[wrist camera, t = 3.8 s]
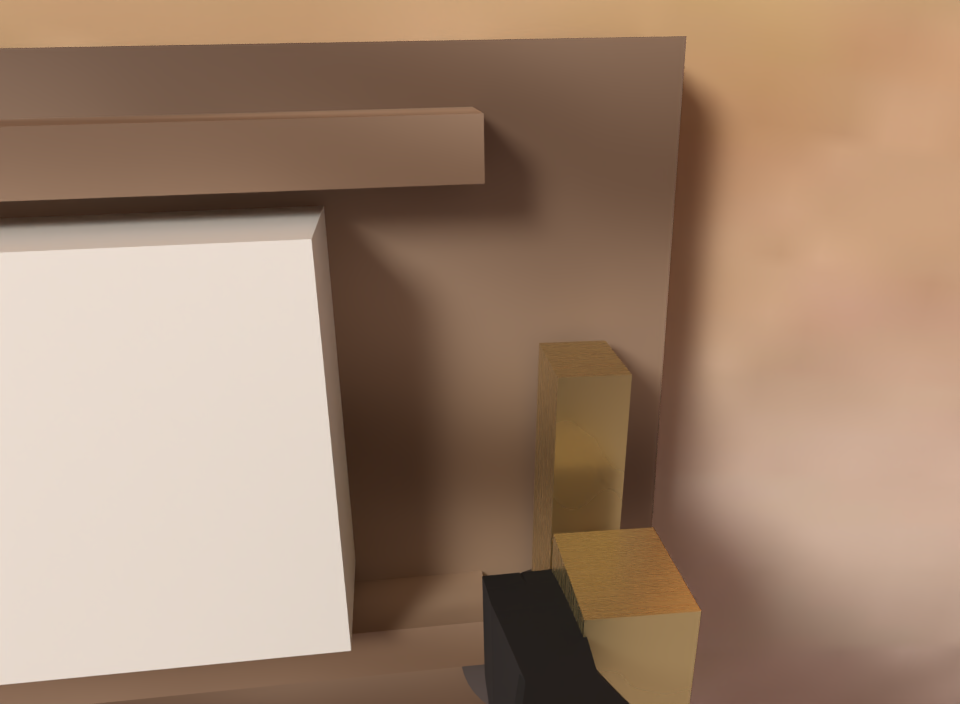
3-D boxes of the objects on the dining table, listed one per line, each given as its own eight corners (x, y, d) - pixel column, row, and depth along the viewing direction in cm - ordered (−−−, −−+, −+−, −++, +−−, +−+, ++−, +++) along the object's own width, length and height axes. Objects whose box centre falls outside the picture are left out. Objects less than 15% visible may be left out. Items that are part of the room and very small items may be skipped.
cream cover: (355, 560, 15) (351, 651, 13) (35, 588, 15) (-29, 687, 13) (323, 205, 13) (310, 239, 11) (-64, 220, 12) (-167, 259, 10)
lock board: (612, 674, 20) (657, 795, 17) (-151, 754, 18) (-268, 908, 15) (647, 38, 15) (724, 34, 11) (-436, 57, 13) (-718, 59, 9)
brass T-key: (585, 813, 18) (650, 1051, 14) (509, 821, 18) (550, 1066, 14) (620, 338, 14) (727, 466, 10) (521, 341, 14) (586, 473, 10)
